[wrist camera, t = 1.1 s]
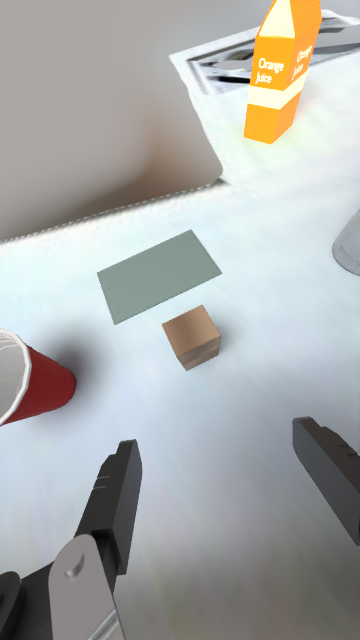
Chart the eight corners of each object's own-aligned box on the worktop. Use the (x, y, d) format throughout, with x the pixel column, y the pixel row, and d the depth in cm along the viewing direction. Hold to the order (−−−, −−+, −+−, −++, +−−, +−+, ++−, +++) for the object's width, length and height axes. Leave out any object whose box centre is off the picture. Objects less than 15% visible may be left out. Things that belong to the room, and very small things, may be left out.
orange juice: (292, 125, 48) (342, -48, 29) (271, 144, 46) (311, -27, 28) (263, 118, 50) (292, -43, 32) (242, 137, 49) (261, -24, 30)
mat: (191, 230, 39) (191, 229, 38) (221, 273, 34) (222, 273, 33) (97, 273, 38) (96, 272, 37) (114, 324, 33) (114, 324, 32)
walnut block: (204, 332, 30) (202, 304, 22) (217, 355, 28) (220, 335, 20) (175, 346, 30) (161, 324, 22) (186, 371, 28) (176, 356, 20)
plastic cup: (38, 448, 27) (-80, 478, 16) (16, 383, 31) (-89, 371, 20) (105, 396, 28) (39, 390, 17) (75, 340, 33) (7, 308, 22)
